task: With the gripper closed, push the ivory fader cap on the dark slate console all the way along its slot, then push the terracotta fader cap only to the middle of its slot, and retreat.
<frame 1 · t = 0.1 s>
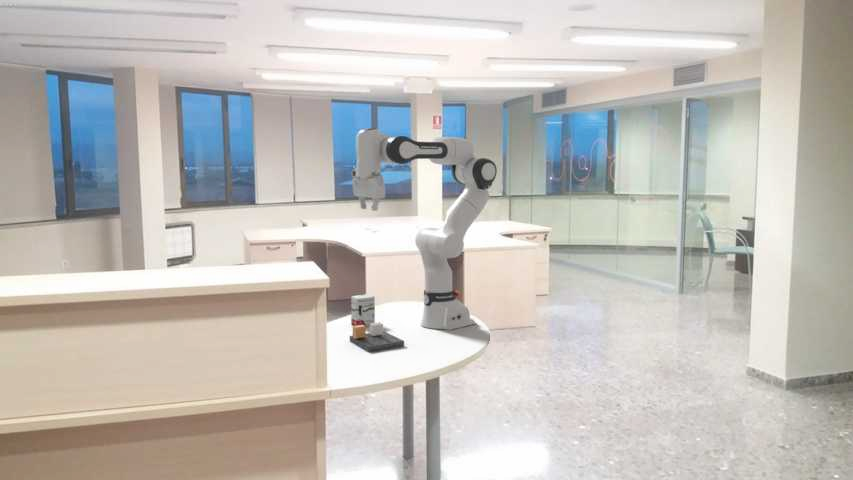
hand: (369, 209, 241), 48 cm above the table, fingers open, 8 cm apart
fader a: (376, 329, 239), point 4 cm above the table, slide at 0.0 cm
console: (376, 343, 235), on the table
ink box: (363, 325, 263), on the table
fader b: (359, 331, 235), point 4 cm above the table, slide at 0.0 cm
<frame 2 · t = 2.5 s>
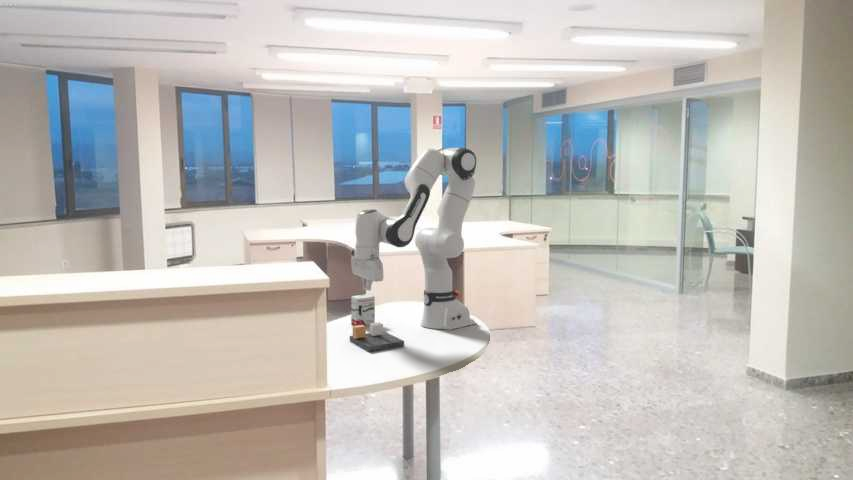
hand: (367, 289, 243), 18 cm above the table, fingers closed
nothing on the table moved.
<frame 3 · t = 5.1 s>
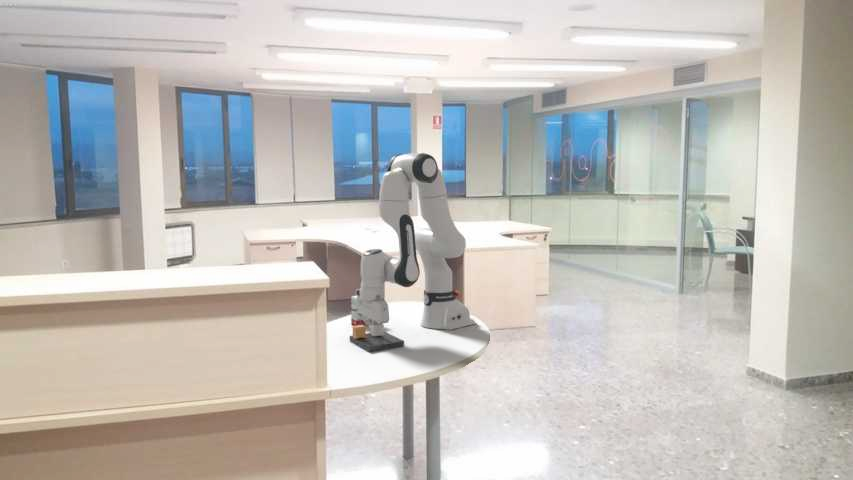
hand: (373, 330, 241), 3 cm above the table, fingers closed
fader a: (377, 329, 238), point 4 cm above the table, slide at 0.7 cm, touching gripper
everything else where it was.
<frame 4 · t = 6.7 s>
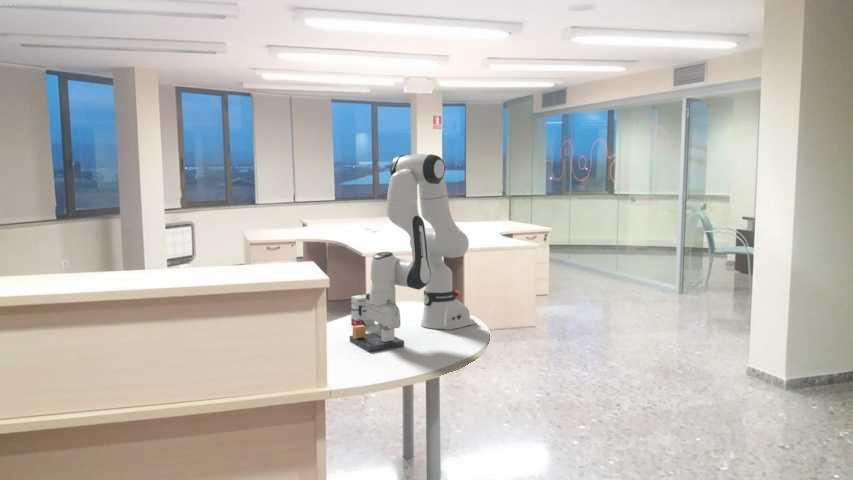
hand: (383, 335, 234), 3 cm above the table, fingers closed
fader a: (387, 334, 231), point 4 cm above the table, slide at 9.1 cm, touching gripper
everything else where it was.
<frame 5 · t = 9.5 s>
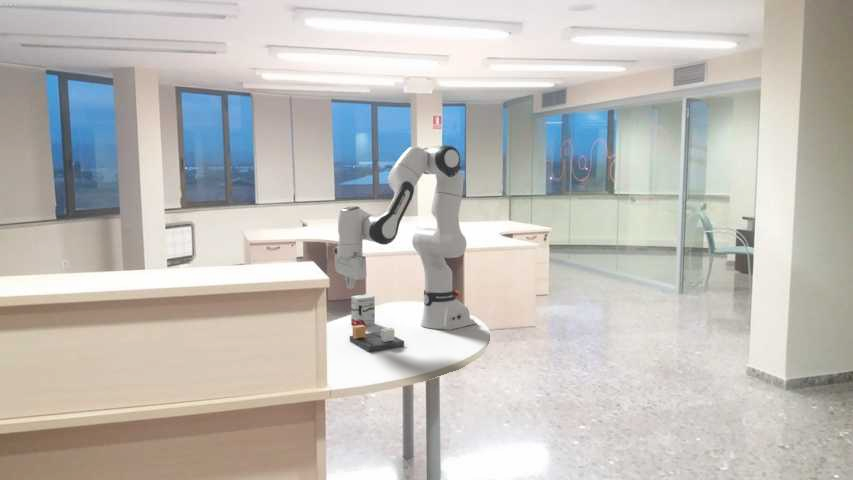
hand: (350, 288, 239), 19 cm above the table, fingers closed
fader a: (387, 334, 231), point 4 cm above the table, slide at 9.0 cm
everything else where it was.
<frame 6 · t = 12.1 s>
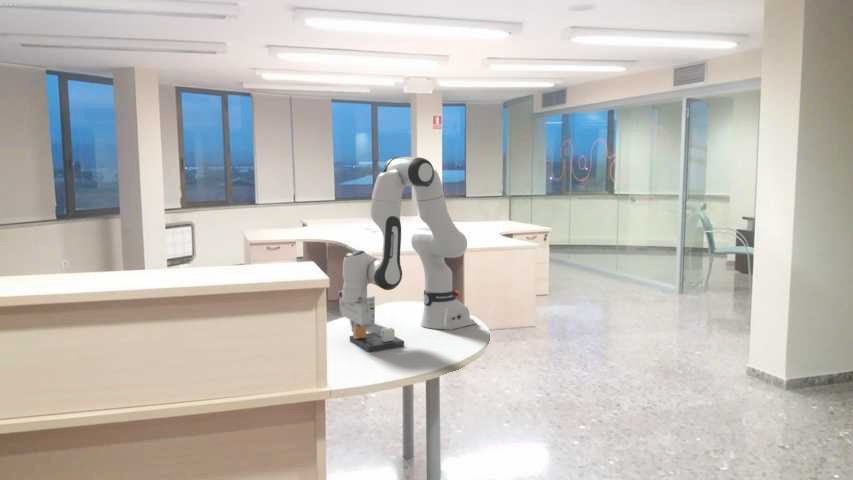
hand: (355, 332, 238), 3 cm above the table, fingers closed
fader b: (359, 331, 235), point 4 cm above the table, slide at 0.5 cm, touching gripper
everything else where it was.
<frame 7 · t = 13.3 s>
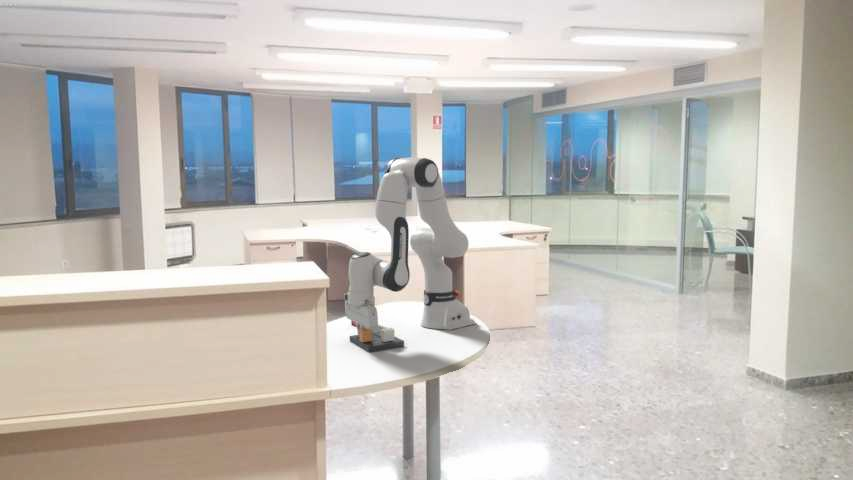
hand: (361, 335, 233), 3 cm above the table, fingers closed
fader b: (365, 335, 230), point 4 cm above the table, slide at 5.6 cm, touching gripper
everything else where it was.
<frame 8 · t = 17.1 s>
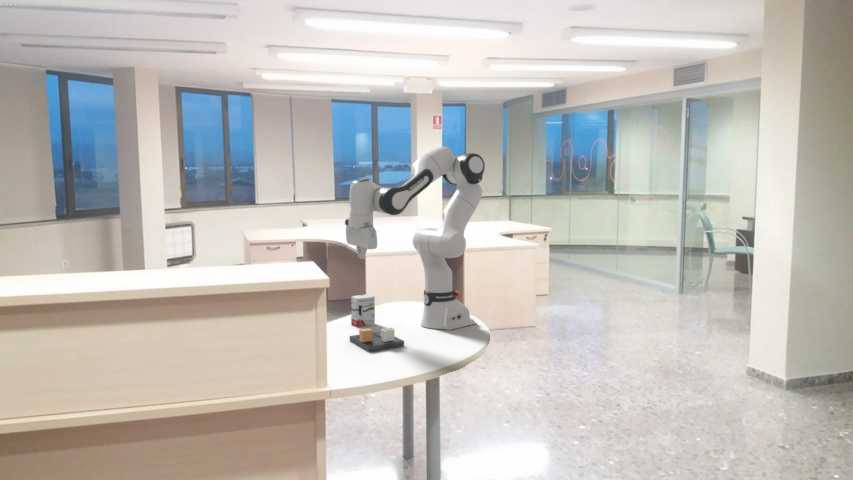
hand: (361, 258, 246), 29 cm above the table, fingers closed
fader b: (365, 335, 230), point 4 cm above the table, slide at 5.7 cm
everything else where it was.
at the end: fader a slide at 9.0 cm; fader b slide at 5.7 cm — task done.
